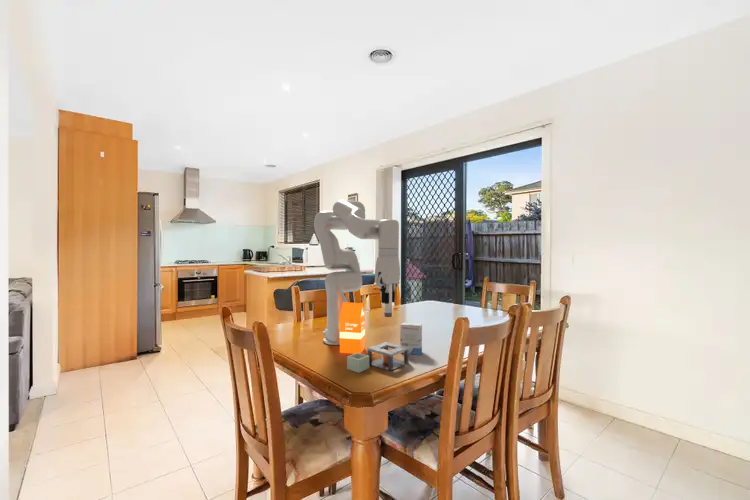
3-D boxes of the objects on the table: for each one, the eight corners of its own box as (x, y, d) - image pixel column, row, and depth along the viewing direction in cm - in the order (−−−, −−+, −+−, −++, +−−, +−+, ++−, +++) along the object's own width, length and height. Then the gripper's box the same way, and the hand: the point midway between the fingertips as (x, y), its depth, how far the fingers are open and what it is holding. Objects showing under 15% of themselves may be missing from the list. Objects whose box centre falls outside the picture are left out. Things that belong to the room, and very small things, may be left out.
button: (381, 362, 132) (381, 354, 132) (387, 360, 134) (387, 352, 134) (388, 364, 129) (388, 356, 129) (394, 362, 132) (394, 354, 132)
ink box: (422, 351, 147) (422, 323, 147) (420, 355, 142) (421, 325, 142) (402, 349, 149) (402, 321, 149) (399, 353, 144) (400, 324, 144)
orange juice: (360, 354, 143) (360, 304, 142) (339, 352, 145) (339, 303, 144) (364, 348, 151) (365, 301, 150) (344, 346, 152) (345, 300, 152)
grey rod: (382, 316, 131) (383, 273, 131) (387, 315, 133) (387, 272, 133) (388, 317, 129) (389, 273, 129) (393, 316, 132) (393, 273, 131)
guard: (367, 364, 131) (367, 348, 131) (385, 356, 140) (385, 341, 140) (390, 371, 124) (391, 354, 124) (408, 363, 133) (408, 347, 133)
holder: (347, 368, 126) (347, 356, 126) (357, 364, 131) (357, 352, 131) (358, 372, 123) (358, 359, 123) (369, 368, 127) (369, 355, 127)
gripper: (393, 252, 139) (392, 298, 140) (366, 253, 127) (366, 304, 127) (409, 252, 135) (408, 301, 135) (382, 254, 122) (382, 307, 123)
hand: (388, 302), depth 131 cm, fingers closed on grey rod, 2 cm apart
